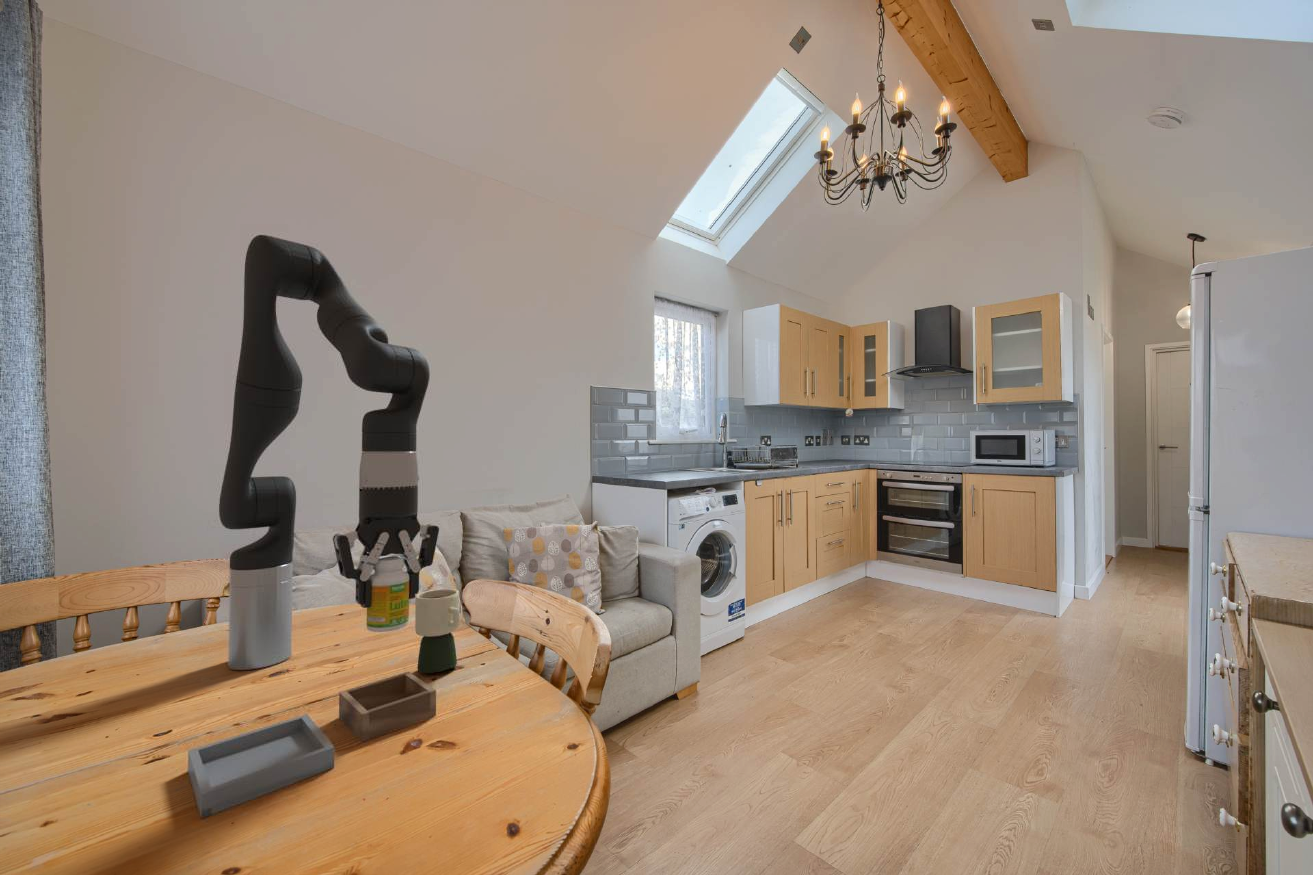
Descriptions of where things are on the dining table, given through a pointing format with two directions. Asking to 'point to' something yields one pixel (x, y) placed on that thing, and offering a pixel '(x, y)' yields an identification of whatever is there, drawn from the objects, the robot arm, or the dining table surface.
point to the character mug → (437, 628)
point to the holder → (386, 705)
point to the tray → (257, 763)
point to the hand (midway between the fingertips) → (388, 601)
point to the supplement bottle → (388, 595)
